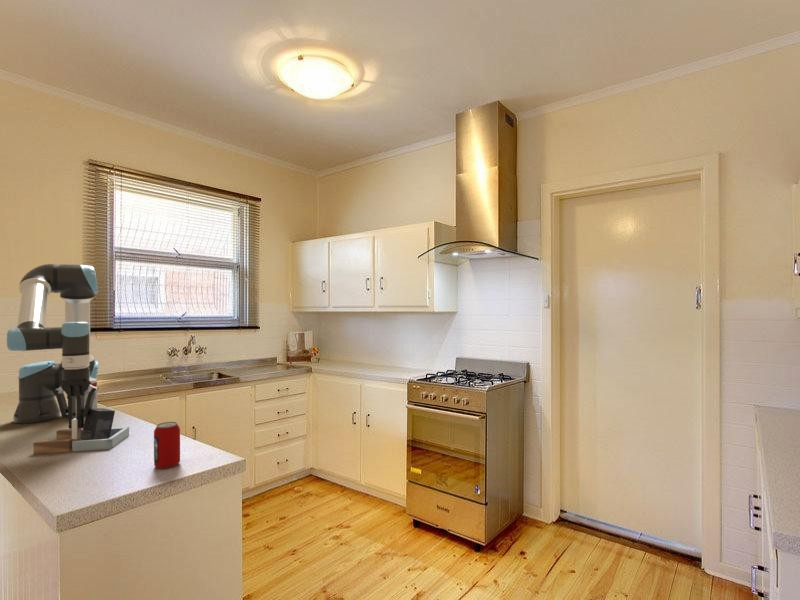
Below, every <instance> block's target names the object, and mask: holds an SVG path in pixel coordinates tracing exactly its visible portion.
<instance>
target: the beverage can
mask: <svg viewBox="0 0 800 600" xmlns="http://www.w3.org/2000/svg"><path fill="white" fill-rule="evenodd" d="M180 462H181V428H180V426H179V424H178V422H177V421H166V422H161V423H158V424H156V427H155V429H154V430H153V465H154V466H155V467H156V468H158V469H163V470H164V469H171V468H174V467H176V466H177V465H178V464H179V463H180Z"/></svg>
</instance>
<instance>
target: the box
mask: <svg viewBox="0 0 800 600" xmlns="http://www.w3.org/2000/svg"><path fill="white" fill-rule="evenodd" d="M115 413H116V410H114V409H109V408H104V407H103V408H101V407H99V408H98V407H97V408H91V412H90V414H89V415H88V416H86V417H85V422H84V427H83V431H82V436H81V439H82V440H96V439H109V438H110V433H111V428H113V423H114V419H115V418H114V417H115Z"/></svg>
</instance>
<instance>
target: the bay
mask: <svg viewBox="0 0 800 600" xmlns="http://www.w3.org/2000/svg"><path fill="white" fill-rule="evenodd" d="M129 436H130V427H129V426H127V427H126V426H125V427H112V428H111V433H110V438H109V439H96V440H72V452H81V451H82V452H83V451H95V450H96V451H97V450H99V451H100V450H111V449H113V448H114V447H116V446H117V445H118V444H120V443H121V442H122V441H123V440H125V439H126V438H128V437H129Z"/></svg>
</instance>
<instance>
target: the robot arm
mask: <svg viewBox="0 0 800 600" xmlns="http://www.w3.org/2000/svg"><path fill="white" fill-rule="evenodd" d="M95 269H96V268H95V267H94V266H92V265H86V264H85V265H84V264H67V263H66V264H63V263H62V264H59V263H58V264H56V263H46V264H41V265H38V266H36V267H34V268H32V269H31V270H29V271H28V272H26V273H25V275H24V276H23V277H22V278H21V280H20V282H19V286H18V288H19V289H18V291H19V292H20V294H21V298H20V305H19V311H18V316H17V324H16V328H10V329H8V330H7V333H6V346H7V349H8V351H11V352H18V351H19V352H27V351H41V350H43V351H44V350H57V349H59V350H60V349H61V352H62V353H61V359H60V363H56V361H55V360H45V361H44V360H43V361H38V362H33V363H29V364H25V365H22V366H21V367H19V369H18V370H19V371H18V377H17V379H18V404H17V406H16V409H15V412H14V414H13V416H12V422H13V423H14V424H32V423H42V422H46V421H51V420H54V419H57V418H60V417H62V418H63V419H67V420H68V429H72V439H78V438H79V437H81V428H82V427H83V426H84V417H86V416H88V415H89V414H90V412H91V408H92V405H93V401H94V397H95V393H96V392H97V393H98V391H99V389H100V388H99V386H97V387H94V386H92V385H91V382H90V380H89V378H90V377H91V378H94V379H97V380H98V372H99V361H98V360H95V356H93V355H92V354H91V301H92V300H93V299H95V294H98V293H99V287H98V280H97V275H96V270H95ZM51 293H53V294H59V297H60V298H61V299H62V300H63V301H64V322H63V323H62V325H61V327H60V326H58V327H57V326H56V327H55V326H54V327H52V326H51V327H46V317H47V307H48V296H49V295H51ZM87 366H88V367H87ZM88 388H89V394H88V397H87V401H86V405H85V408H84V397H85V392H86V391H87V390H88ZM65 394H66V396H65ZM66 398H67V400H66ZM76 399H77V415H76ZM76 416H77V417H76ZM75 417H76V418H75Z"/></svg>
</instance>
